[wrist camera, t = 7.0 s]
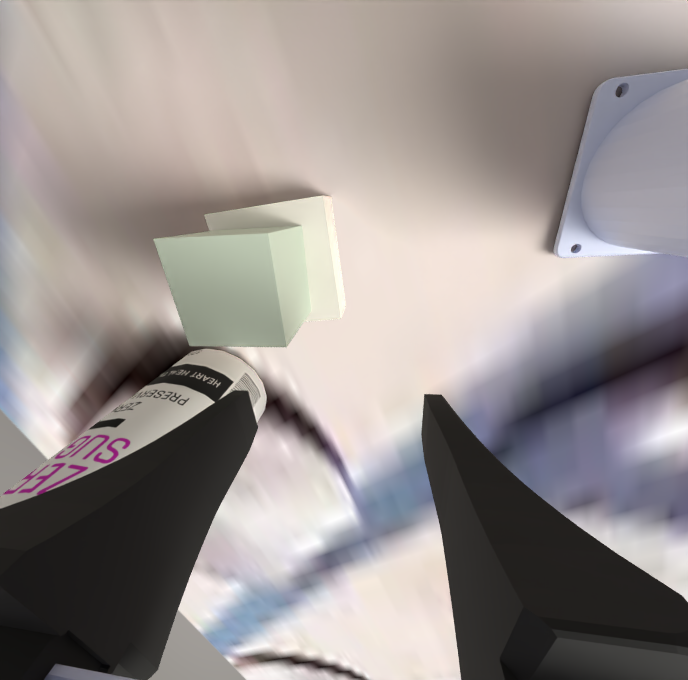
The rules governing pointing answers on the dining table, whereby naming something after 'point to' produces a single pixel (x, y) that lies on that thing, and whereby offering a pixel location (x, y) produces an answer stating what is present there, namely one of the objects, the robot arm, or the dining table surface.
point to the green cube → (238, 285)
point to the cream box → (317, 245)
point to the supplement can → (145, 418)
